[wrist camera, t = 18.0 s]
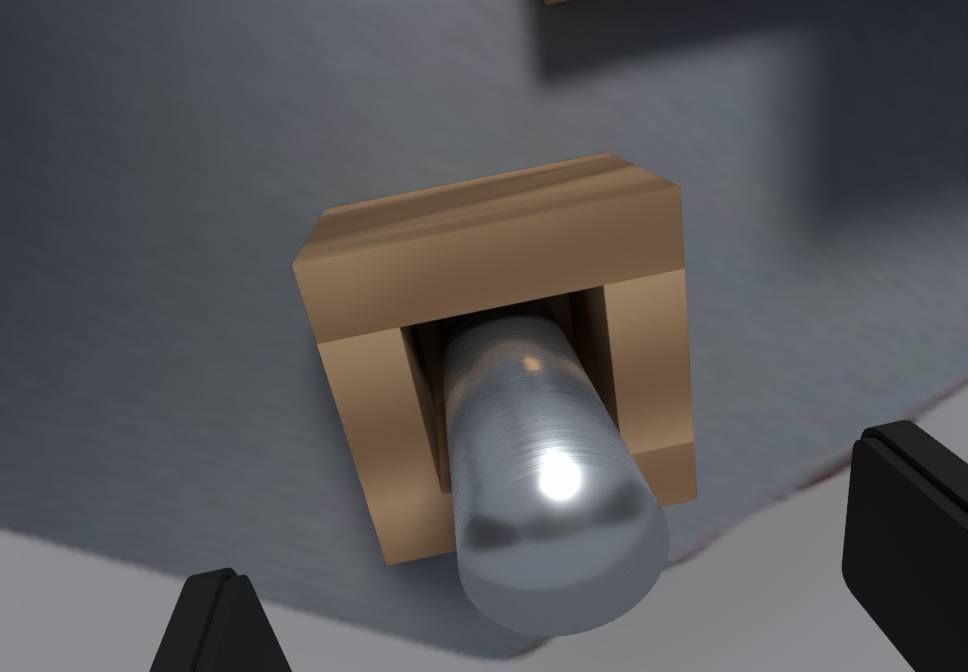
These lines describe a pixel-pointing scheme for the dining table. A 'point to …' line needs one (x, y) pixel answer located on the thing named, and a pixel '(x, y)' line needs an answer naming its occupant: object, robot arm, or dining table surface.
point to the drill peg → (541, 479)
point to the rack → (489, 284)
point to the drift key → (553, 2)
